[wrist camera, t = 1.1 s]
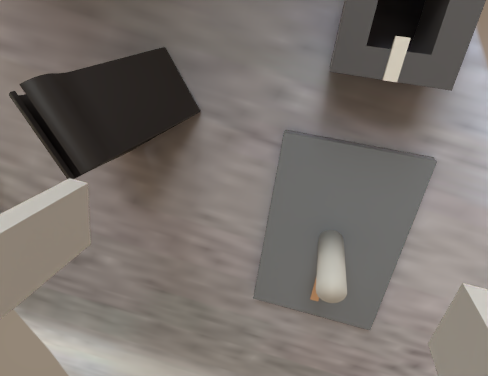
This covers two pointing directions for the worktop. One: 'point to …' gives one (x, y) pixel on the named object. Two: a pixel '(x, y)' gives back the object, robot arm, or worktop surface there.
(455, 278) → the worktop surface
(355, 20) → the gray square frame
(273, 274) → the panel
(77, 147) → the phone stand
